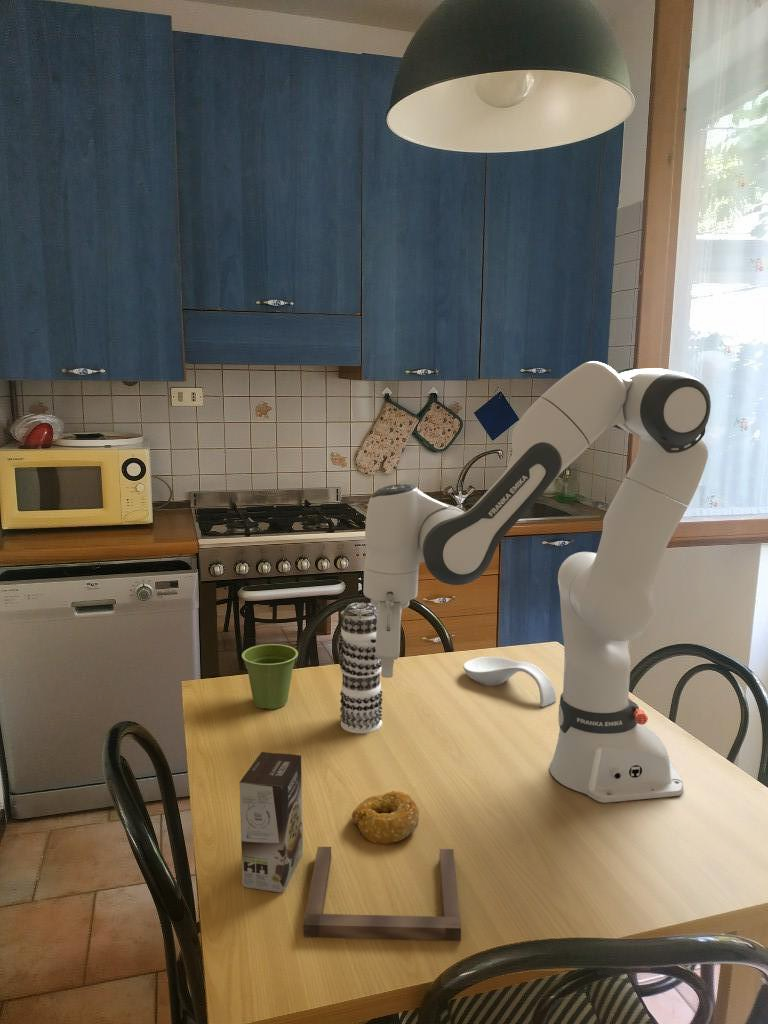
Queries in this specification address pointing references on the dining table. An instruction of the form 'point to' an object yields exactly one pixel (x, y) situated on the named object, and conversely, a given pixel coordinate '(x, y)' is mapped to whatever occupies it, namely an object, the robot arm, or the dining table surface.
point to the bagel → (386, 817)
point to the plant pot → (270, 673)
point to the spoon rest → (509, 674)
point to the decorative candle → (360, 669)
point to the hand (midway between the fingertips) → (387, 664)
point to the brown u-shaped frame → (382, 924)
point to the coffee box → (271, 821)
